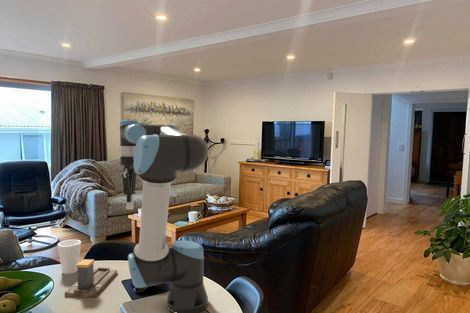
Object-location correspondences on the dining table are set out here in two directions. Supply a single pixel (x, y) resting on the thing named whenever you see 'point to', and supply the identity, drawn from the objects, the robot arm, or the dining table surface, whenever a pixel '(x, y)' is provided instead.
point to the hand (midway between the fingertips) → (129, 209)
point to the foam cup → (69, 255)
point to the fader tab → (85, 274)
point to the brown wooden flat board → (100, 281)
